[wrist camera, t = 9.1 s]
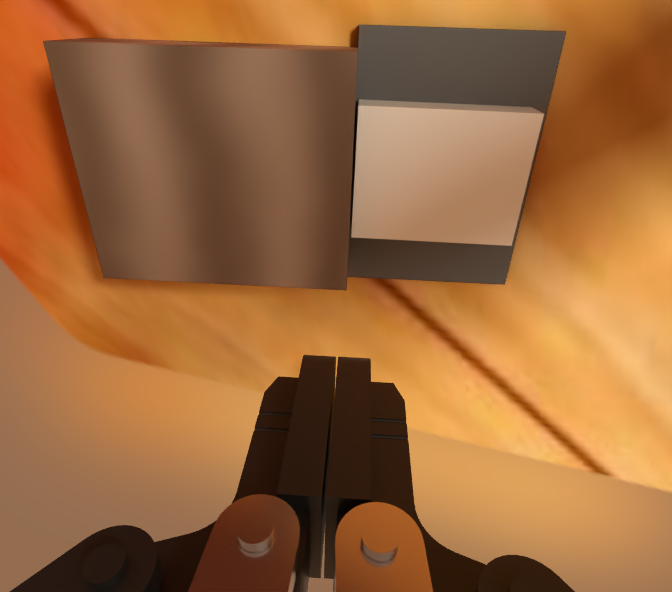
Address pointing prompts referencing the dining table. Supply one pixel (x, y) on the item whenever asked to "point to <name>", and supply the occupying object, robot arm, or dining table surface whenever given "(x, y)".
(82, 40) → the block
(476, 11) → the dining table surface
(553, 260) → the dining table surface
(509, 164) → the tile
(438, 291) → the dining table surface
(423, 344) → the dining table surface
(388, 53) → the mat
